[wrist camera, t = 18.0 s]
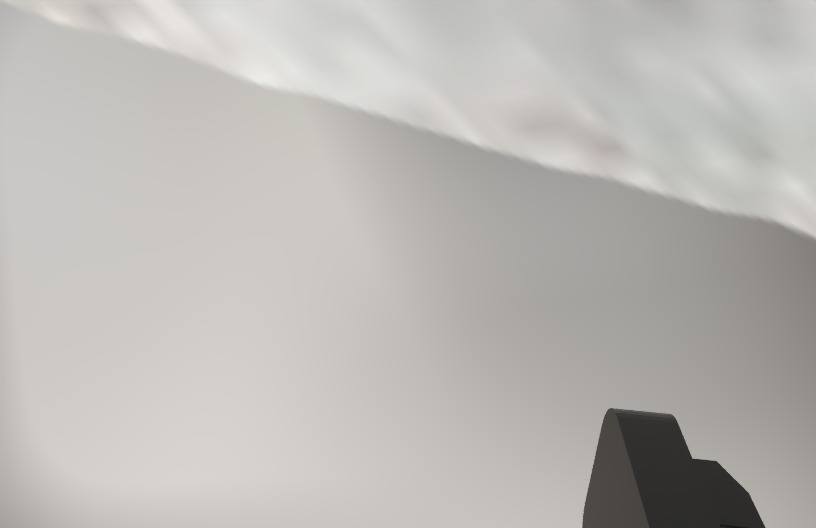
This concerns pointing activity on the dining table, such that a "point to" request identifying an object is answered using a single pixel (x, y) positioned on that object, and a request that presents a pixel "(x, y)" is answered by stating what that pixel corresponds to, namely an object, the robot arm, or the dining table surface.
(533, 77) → the dining table surface
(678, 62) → the dining table surface
